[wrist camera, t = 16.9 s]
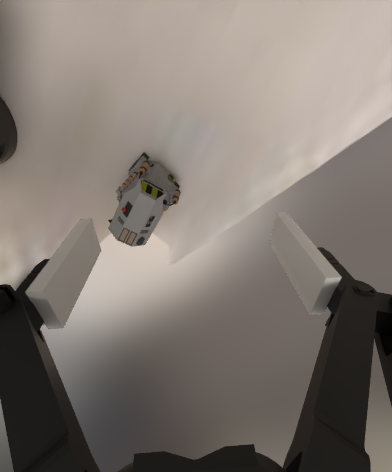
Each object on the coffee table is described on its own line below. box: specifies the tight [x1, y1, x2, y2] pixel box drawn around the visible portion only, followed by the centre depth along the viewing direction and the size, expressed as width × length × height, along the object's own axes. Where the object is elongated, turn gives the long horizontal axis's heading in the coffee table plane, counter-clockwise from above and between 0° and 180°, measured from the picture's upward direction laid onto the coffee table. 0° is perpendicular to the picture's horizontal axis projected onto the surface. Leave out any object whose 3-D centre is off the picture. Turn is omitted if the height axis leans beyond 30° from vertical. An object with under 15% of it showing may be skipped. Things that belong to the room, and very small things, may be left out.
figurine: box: [108, 153, 181, 246], centre depth 37 cm, size 9×12×15 cm
